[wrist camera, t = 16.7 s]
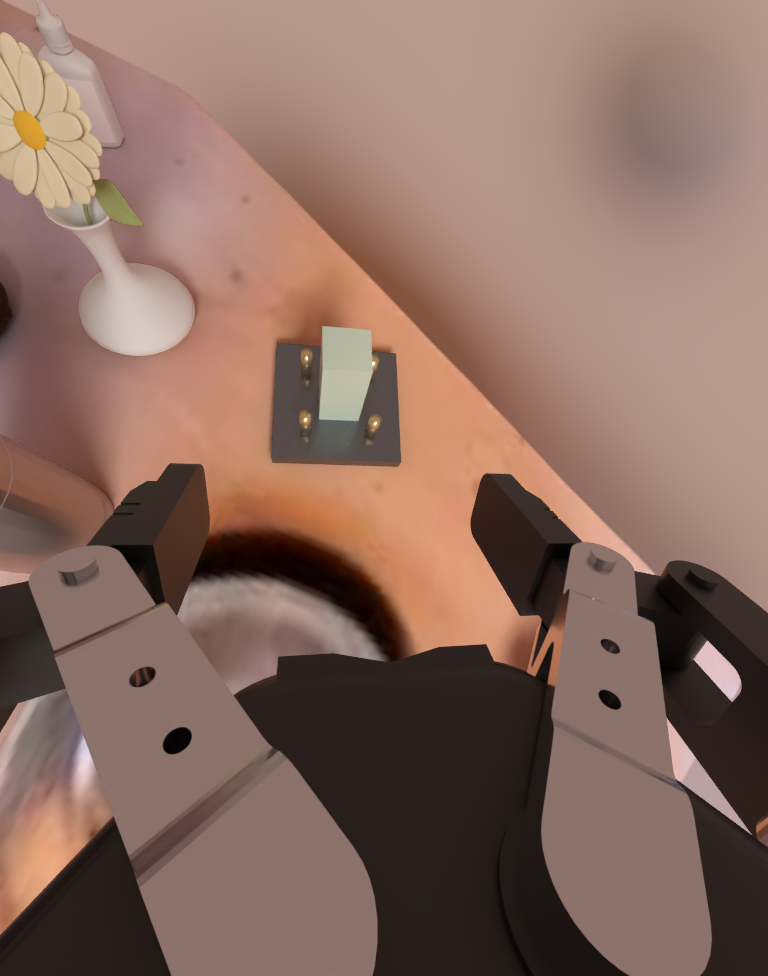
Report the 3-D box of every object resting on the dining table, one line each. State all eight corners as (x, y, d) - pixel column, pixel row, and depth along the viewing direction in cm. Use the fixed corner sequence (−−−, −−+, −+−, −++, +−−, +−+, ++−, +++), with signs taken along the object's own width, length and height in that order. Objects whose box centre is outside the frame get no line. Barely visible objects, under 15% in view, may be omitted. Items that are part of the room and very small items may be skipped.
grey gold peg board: (272, 462, 43) (268, 445, 38) (277, 350, 46) (274, 322, 42) (397, 466, 45) (408, 451, 41) (393, 360, 49) (402, 335, 44)
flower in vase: (62, 318, 42) (-240, -33, 19) (146, 262, 46) (-19, -90, 23) (154, 393, 42) (-37, 131, 19) (231, 330, 46) (154, 46, 22)
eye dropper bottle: (104, 158, 49) (44, 25, 38) (68, 132, 49) (-3, -8, 38) (131, 141, 50) (81, 9, 39) (96, 116, 51) (35, -24, 39)
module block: (318, 419, 43) (322, 369, 34) (318, 384, 45) (322, 325, 35) (358, 421, 44) (372, 372, 35) (357, 386, 45) (370, 329, 36)
